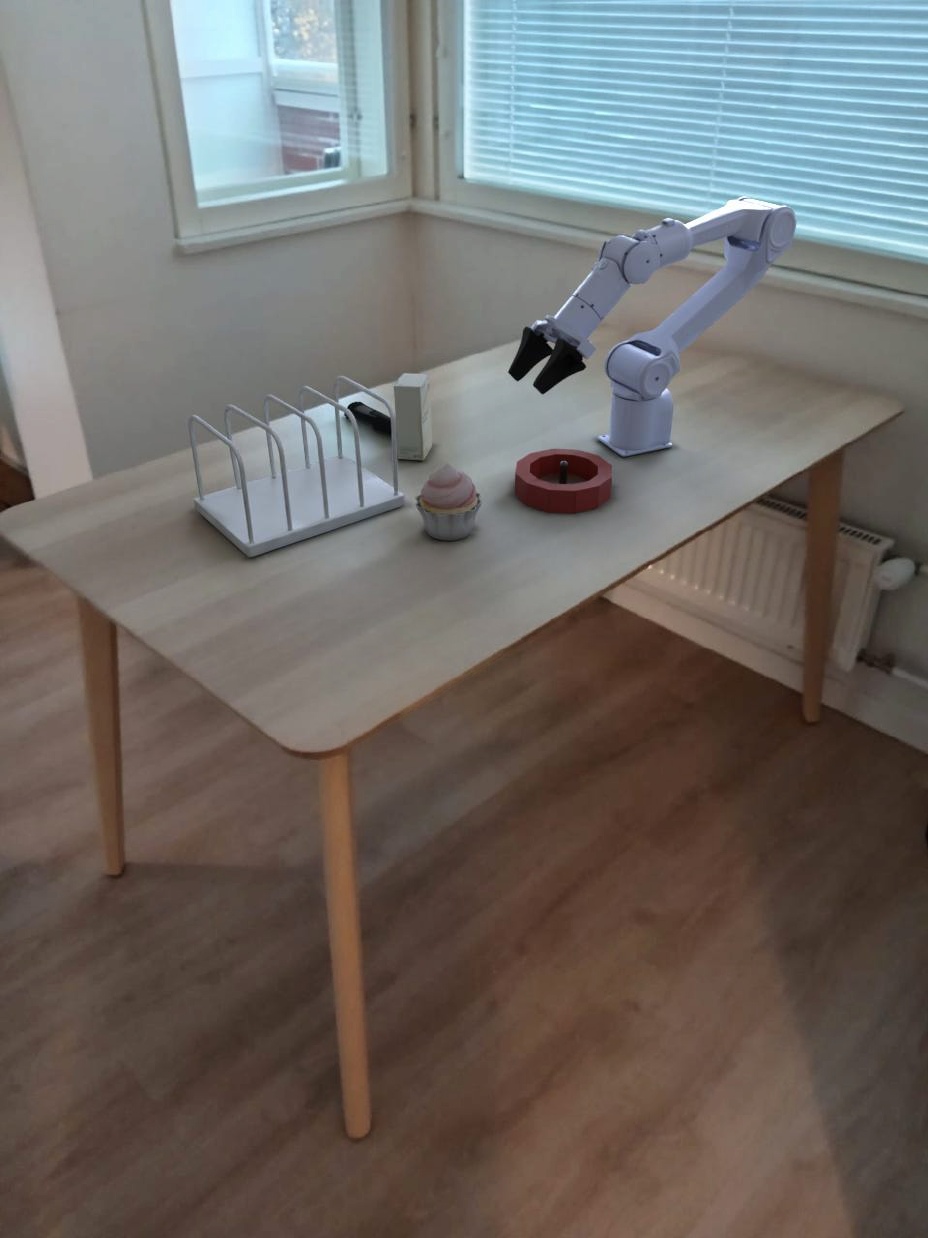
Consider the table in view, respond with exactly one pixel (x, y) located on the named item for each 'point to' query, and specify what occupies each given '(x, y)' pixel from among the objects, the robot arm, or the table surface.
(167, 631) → the table surface
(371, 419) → the electric trimmer
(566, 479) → the peg stand
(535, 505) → the ring
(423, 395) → the cosmetic box
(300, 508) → the file sorter
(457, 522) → the cupcake
